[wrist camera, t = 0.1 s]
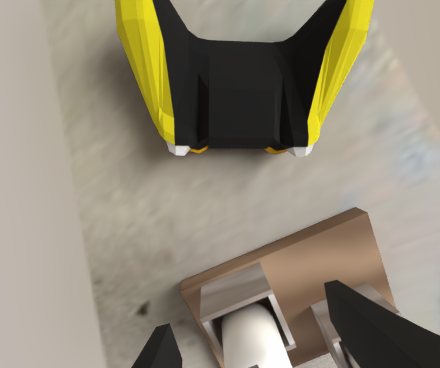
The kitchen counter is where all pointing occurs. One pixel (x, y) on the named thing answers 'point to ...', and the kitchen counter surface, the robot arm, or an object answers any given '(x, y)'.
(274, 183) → the kitchen counter surface
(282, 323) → the knob board
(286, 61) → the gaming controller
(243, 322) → the knob left
